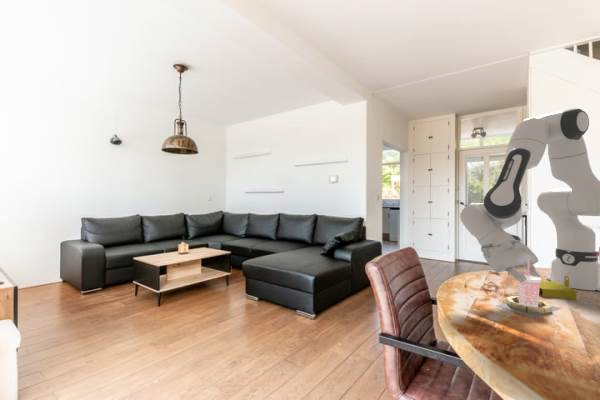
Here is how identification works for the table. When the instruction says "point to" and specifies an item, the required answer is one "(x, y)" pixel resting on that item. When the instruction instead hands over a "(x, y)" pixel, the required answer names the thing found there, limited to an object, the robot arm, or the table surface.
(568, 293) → the bracket
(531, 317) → the board
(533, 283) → the beverage cup
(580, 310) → the table surface
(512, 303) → the socket
